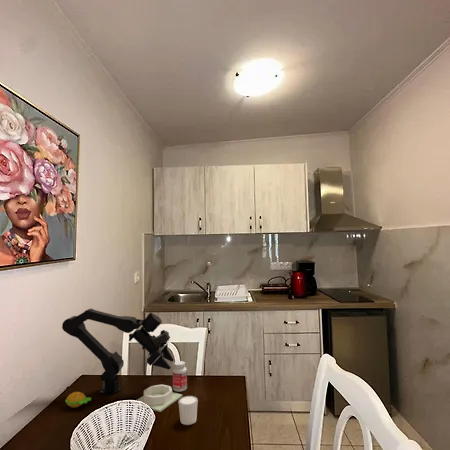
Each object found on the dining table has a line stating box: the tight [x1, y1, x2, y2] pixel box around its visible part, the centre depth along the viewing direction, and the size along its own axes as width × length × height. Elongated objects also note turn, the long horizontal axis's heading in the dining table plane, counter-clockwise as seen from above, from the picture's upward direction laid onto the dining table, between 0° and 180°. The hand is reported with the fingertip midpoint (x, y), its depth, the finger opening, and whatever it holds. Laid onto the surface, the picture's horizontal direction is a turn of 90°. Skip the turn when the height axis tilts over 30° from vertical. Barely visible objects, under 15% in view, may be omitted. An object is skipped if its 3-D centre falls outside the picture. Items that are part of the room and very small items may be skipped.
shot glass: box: [178, 395, 199, 426], centre depth 113 cm, size 7×7×7 cm
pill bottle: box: [172, 360, 188, 393], centre depth 138 cm, size 6×6×11 cm
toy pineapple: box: [64, 391, 92, 409], centre depth 125 cm, size 7×10×5 cm
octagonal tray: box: [136, 384, 183, 413], centre depth 128 cm, size 14×14×4 cm
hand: (171, 364), depth 138 cm, fingers open, 9 cm apart
